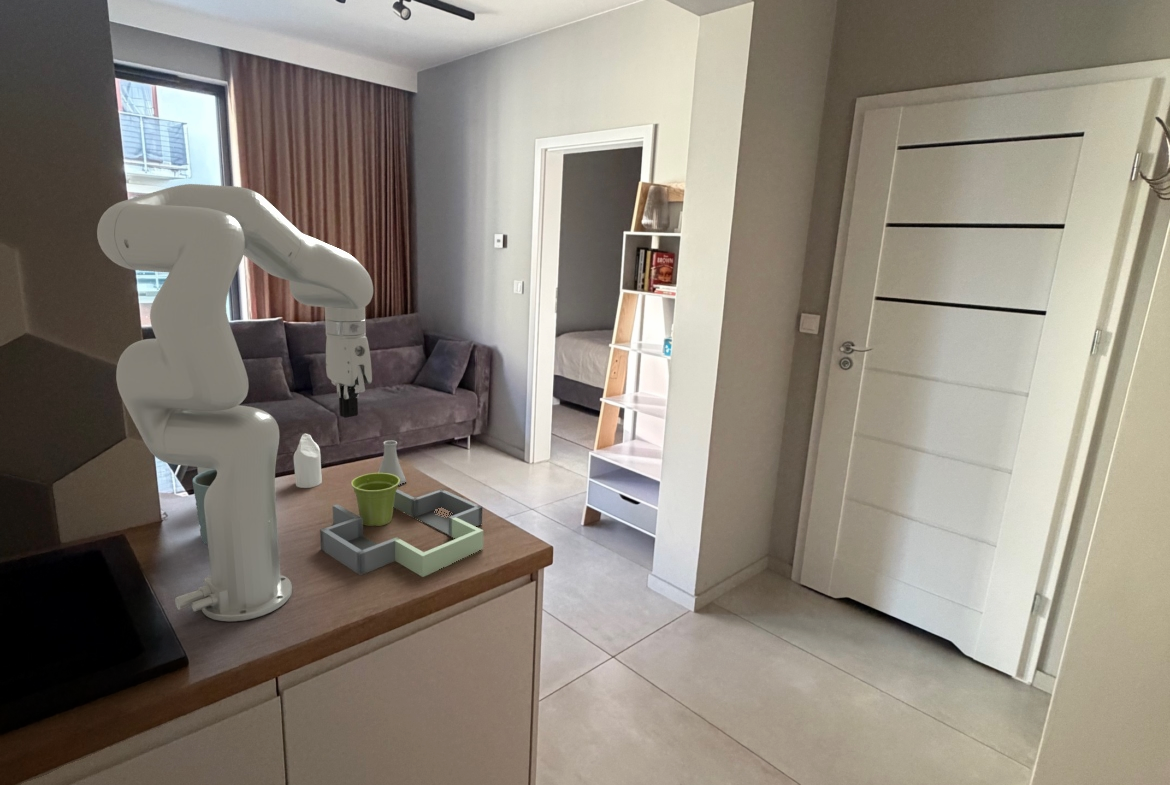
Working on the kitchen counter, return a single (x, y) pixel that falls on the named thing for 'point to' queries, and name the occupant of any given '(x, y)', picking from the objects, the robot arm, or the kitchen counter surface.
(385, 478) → the plant pot
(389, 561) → the grey low walled frame
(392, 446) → the flask
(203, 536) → the sage green cup
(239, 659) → the kitchen counter surface
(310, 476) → the white broken column
